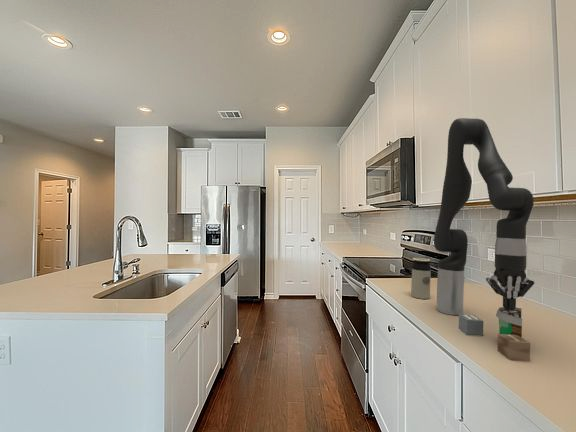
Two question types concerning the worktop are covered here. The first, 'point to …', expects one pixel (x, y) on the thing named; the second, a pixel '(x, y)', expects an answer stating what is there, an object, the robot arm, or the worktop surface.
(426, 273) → the travel mug
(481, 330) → the slate block
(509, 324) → the food container
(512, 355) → the walnut block
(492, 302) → the worktop surface
